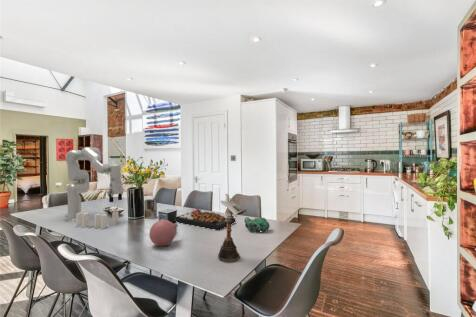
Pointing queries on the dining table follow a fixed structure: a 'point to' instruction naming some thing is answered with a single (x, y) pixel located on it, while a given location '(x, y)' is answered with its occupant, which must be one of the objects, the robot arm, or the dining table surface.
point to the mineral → (256, 224)
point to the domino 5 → (115, 217)
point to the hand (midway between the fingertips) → (115, 201)
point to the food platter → (203, 219)
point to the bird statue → (228, 248)
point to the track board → (91, 227)
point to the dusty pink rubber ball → (162, 232)
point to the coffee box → (150, 209)
